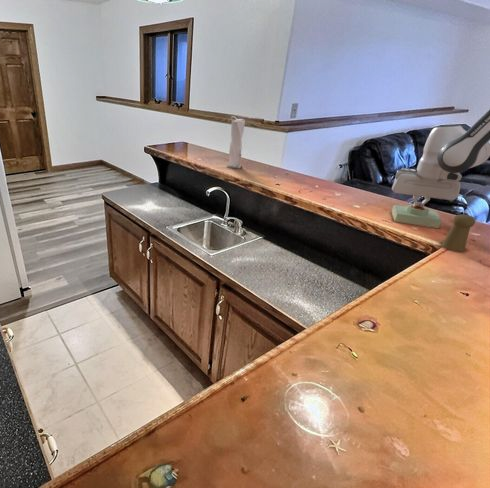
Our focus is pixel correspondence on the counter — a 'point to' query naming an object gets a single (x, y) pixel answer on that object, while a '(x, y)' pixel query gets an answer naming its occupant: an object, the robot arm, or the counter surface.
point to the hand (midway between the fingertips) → (418, 207)
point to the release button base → (416, 216)
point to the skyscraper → (236, 143)
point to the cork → (459, 233)
